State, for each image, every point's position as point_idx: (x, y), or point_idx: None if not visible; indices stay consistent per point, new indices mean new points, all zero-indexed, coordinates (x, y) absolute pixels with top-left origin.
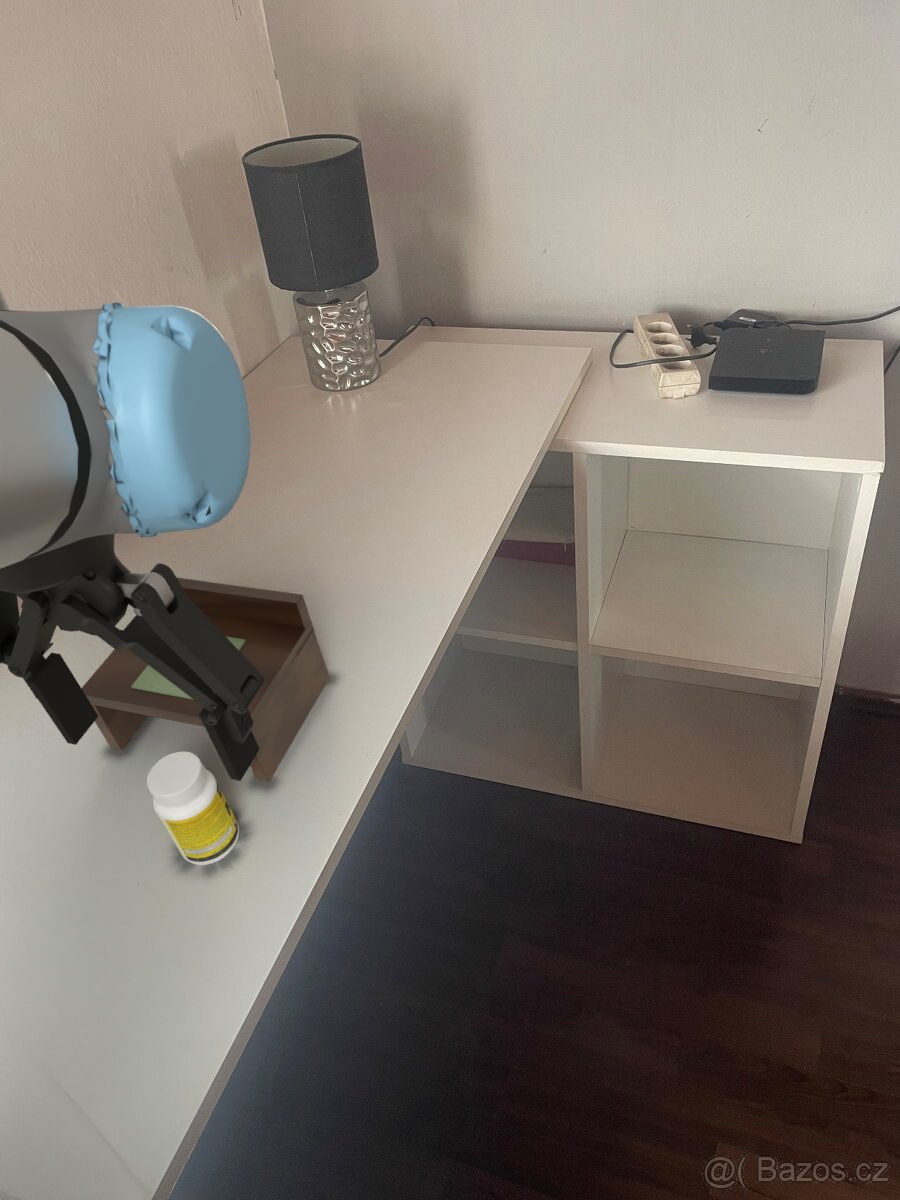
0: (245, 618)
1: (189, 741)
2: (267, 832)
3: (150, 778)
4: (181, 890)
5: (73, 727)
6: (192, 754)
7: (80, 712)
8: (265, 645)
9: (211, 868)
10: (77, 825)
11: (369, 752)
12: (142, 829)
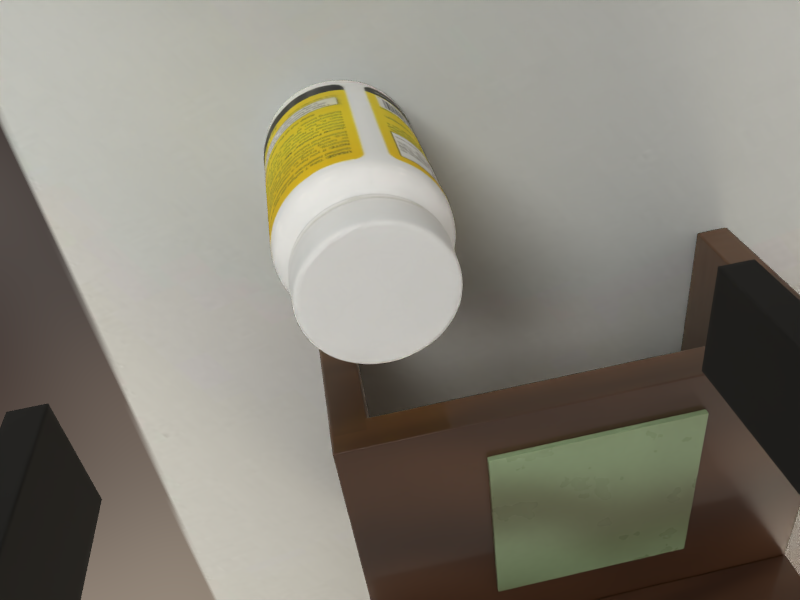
0: None
1: (556, 309)
2: (225, 220)
3: (438, 255)
4: (309, 6)
5: (748, 327)
6: (370, 362)
7: (751, 383)
8: (444, 596)
9: (281, 90)
10: (695, 35)
11: (164, 439)
12: (523, 98)
